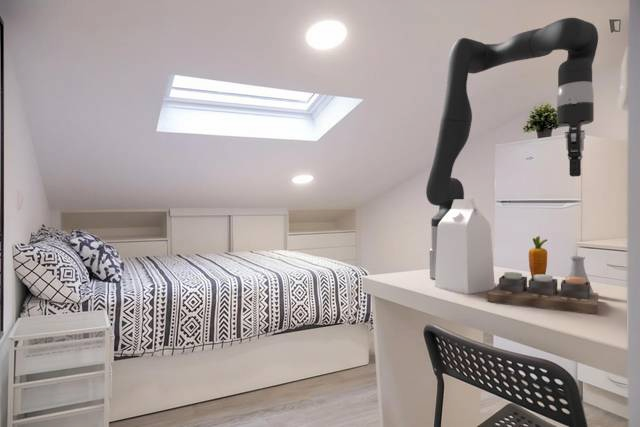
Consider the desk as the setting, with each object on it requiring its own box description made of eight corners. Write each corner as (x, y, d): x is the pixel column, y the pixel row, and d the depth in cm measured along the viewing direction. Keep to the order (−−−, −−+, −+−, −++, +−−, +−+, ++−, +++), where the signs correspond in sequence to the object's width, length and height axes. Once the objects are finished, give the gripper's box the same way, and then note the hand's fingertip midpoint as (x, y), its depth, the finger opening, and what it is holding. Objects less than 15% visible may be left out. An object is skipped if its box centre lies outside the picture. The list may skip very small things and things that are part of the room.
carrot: (534, 284, 123) (534, 234, 122) (551, 287, 119) (551, 235, 118) (525, 287, 120) (524, 235, 120) (542, 289, 116) (541, 236, 116)
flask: (599, 294, 110) (598, 256, 109) (587, 298, 105) (586, 259, 105) (569, 289, 115) (569, 254, 115) (557, 293, 111) (557, 256, 111)
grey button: (532, 283, 104) (532, 276, 104) (535, 280, 107) (535, 273, 107) (551, 285, 101) (551, 277, 101) (553, 282, 105) (553, 275, 105)
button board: (487, 301, 104) (487, 281, 103) (498, 291, 115) (498, 273, 115) (597, 314, 91) (597, 291, 90) (598, 300, 102) (598, 280, 102)
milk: (494, 288, 118) (494, 198, 118) (467, 294, 112) (467, 199, 112) (461, 282, 129) (460, 199, 128) (434, 286, 123) (433, 199, 122)
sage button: (502, 280, 108) (502, 274, 108) (506, 278, 111) (506, 271, 111) (520, 282, 105) (520, 275, 105) (523, 279, 109) (523, 272, 109)
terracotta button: (564, 286, 100) (564, 278, 100) (566, 283, 103) (566, 276, 103) (585, 287, 98) (585, 280, 97) (586, 284, 101) (586, 277, 101)
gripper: (559, 111, 107) (559, 178, 108) (554, 101, 96) (554, 175, 96) (594, 107, 103) (594, 176, 103) (593, 96, 92) (593, 173, 92)
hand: (575, 175), depth 100 cm, fingers closed
